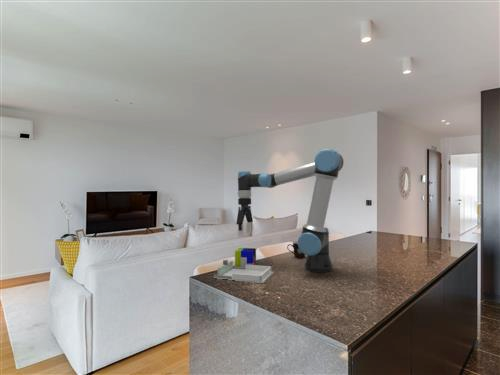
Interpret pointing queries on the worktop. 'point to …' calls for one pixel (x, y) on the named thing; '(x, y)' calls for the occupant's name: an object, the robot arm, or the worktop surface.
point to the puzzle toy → (245, 257)
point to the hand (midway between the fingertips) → (245, 234)
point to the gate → (225, 267)
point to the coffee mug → (297, 250)
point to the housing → (248, 273)
